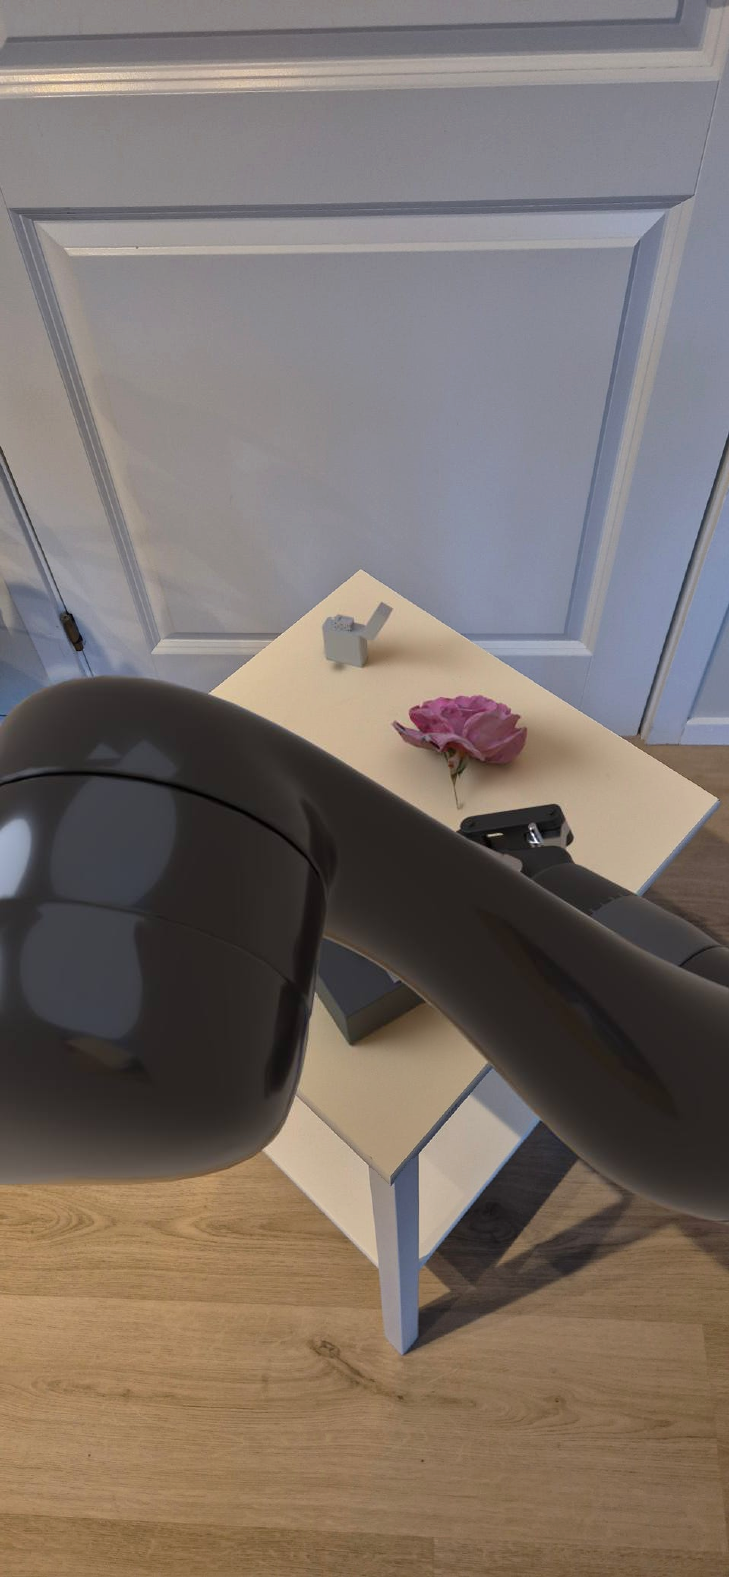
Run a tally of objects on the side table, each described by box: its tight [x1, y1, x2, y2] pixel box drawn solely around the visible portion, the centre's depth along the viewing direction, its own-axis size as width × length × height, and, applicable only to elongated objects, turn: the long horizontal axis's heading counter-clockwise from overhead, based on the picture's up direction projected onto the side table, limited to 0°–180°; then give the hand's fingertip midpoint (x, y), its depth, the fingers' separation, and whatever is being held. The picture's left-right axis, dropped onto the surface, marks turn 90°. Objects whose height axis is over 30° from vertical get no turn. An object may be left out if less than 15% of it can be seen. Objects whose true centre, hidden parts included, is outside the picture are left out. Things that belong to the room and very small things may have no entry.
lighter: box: [321, 601, 394, 668], centre depth 99 cm, size 7×2×8 cm, turn 69°
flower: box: [390, 694, 528, 810], centre depth 90 cm, size 11×10×10 cm
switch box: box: [315, 937, 426, 1046], centre depth 78 cm, size 12×10×7 cm
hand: (393, 836), depth 61 cm, fingers closed
